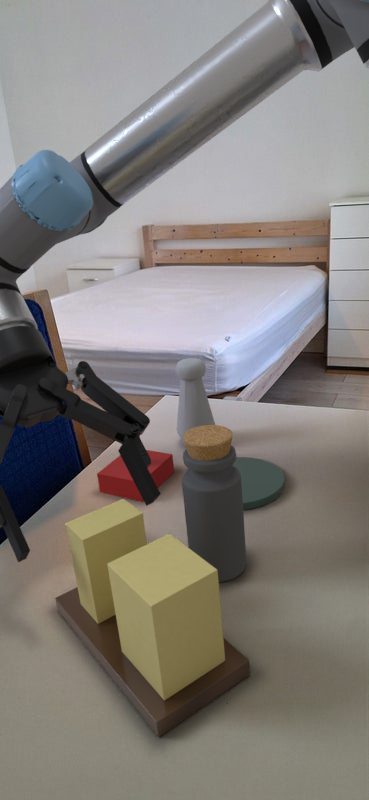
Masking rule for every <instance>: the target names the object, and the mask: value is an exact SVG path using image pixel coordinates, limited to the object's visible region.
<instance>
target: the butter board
mask: <svg viewBox="0 0 369 800" xmlns="http://www.w3.org/2000/svg"><path fill="white" fill-rule="evenodd" d="M54 600H55V605H56V609H57V611H58V613H59V615H61V616H62V618H63V619H64V620H65V622H66V623H67V625H69V626H70V628H71V629H72V630H73V631H74V633H75V634H76V635H77V636H78V638H79V639H80V640H81V642H82V643H83V644H84V645H85V646H86V648H87V649H88V650H89V652H90V653H91V654H92V656H93V657H94V658H95V659H96V660H97V662H98V663H99V664H100V665H101V667H102V668H103V669H104V671H105V672H106V673H107V674H108V675H109V677H110V678H111V680H112V681H113V682H114V683H115V684H116V686H117V687H118V688H119V689H120V691H121V692H122V693H123V694H124V696H125V697H126V698H127V699H128V701H129V702H130V703H131V704H132V706H133V707H134V709H136V711H137V712H138V713H139V715H140V716H141V717H142V718H143V719H144V721H145V722H146V723H147V724H148V726H149V727H150V729H151V730H152V731H153V732H154V734H155V735H156V736H157V738H160V737H161V736H163V735H165V734H166V733H167V732H169V731H170V730H171V729H173V728H175V727H176V726H177V725H178V724H180V723H182V722H183V721H185V720H186V719H187V718H189V717H190V716H192V715H193V714H195V713H196V712H197V711H199V710H201V709H202V708H203V707H205V706H206V705H208V704H209V703H210V702H212V701H213V700H215V699H216V698H218V697H219V696H221V695H222V694H224V693H226V691H228V690H230V689H231V688H233V687H234V686H235V685H237V684H238V683H240V682H241V681H243V680H244V679H245V678H247V677H248V676H250V675H251V668H250V659H249V658H247V657H246V655H244V654H243V653H242V652H241V651H240V650H238V649H237V648H236V647H235V646H234V645H232V644H231V643H230V642H229V641H228V640H227V639H226V638H225V637H223V640H224V652H225V661H224V662H223V663H221V664H220V665H218V666H217V667H215V668H213V669H212V670H210V671H209V672H207V673H206V674H204V675H203V676H201V677H200V678H198V679H197V680H195V681H194V682H192V683H191V684H189V685H188V686H186V687H185V688H183V689H181V690H180V691H178V692H177V693H175V694H174V695H172V696H171V697H169V698H168V699H166V700H163V698H162V697H161V696H160V695H159V694H158V693H157V692H156V690H155V689H154V688H153V687H152V686H151V685H150V683H149V682H148V681H147V680H146V679H145V678H144V676H143V675H142V674H141V673H140V672H139V671H138V670H137V668H136V667H135V666H134V665H133V664H132V663H131V661H130V660H129V659H128V658H127V657H126V656H125V655H124V653H123V652H122V649H121V643H120V637H119V631H118V625H117V619H116V615H114V616H112V617H110V618H108V619H107V620H105V621H103V622H101V623H99V624H98V623H97V622H96V621H95V620H94V619H93V618H92V616H91V615H90V614H89V613H88V612H87V611H86V610H85V608H84V607H83V606H82V605H81V602H80V597H79V592H78V587H77V586H76V587H74V588H72V589H70V590H68V591H66V592H64V593H62V594H60V595H58V596H56V597H54Z"/></svg>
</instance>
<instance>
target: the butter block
mask: <svg viewBox="0 0 369 800" xmlns="http://www.w3.org/2000/svg"><path fill="white" fill-rule="evenodd" d="M107 565H108V571H109V577H110V583H111V589H112V595H113V601H114V607H115V613H116V619H117V625H118V631H119V637H120V643H121V649H122V652H123V653H124V655H125V656H126V657H127V658H128V659H129V660H130V661H131V663H132V664H133V665H134V666H135V667H136V668H137V670H138V671H139V672H140V673H141V674H142V675H143V676H144V678H145V679H146V680H147V681H148V682H149V683H150V685H151V686H152V687H153V688H154V689H155V690H156V692H157V693H158V694H159V695H160V696H161V697H162V698H163V700H166V699H168V698H169V697H171V696H172V695H174V694H175V693H177V692H178V691H180V690H181V689H183V688H185V687H186V686H188V685H189V684H191V683H192V682H194V681H195V680H197V679H198V678H200V677H201V676H203V675H204V674H206V673H207V672H209V671H210V670H212V669H213V668H215V667H217V666H218V665H220V664H221V663H223V662H224V661H225V652H224V640H223V638H224V630H223V629H224V628H223V617H222V607H221V594H220V582H218V570H217V569H216V568H214V567H213V566H212V565H210V564H209V563H208V562H206V561H205V560H204V559H202V558H201V557H200V556H199V555H197V554H196V553H195V552H193V551H192V550H191V549H189V547H188V545H185V544H184V543H183V542H181V541H180V540H179V539H178V538H176V537H175V536H173V535H172V534H171V533H167V534H165V535H163V536H161V537H159V538H157V539H155V540H153V541H151V542H149V543H147V545H145V546H143V547H141V548H139V549H137V550H134V551H132V552H130V553H128V554H126V555H124V556H122V557H120V558H118V559H116V560H114V561H112V562H110V563H108V564H107Z"/></svg>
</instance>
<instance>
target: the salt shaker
mask: <svg viewBox="0 0 369 800" xmlns="http://www.w3.org/2000/svg"><path fill="white" fill-rule="evenodd" d="M206 371H207V368H206V363H205V361H204V360H202V359H201V358H198V357H188V358H184V359H180V360H179V361H178V362H177V363H176V365H175V375H176V377H177V378H178V379H180V381H179V393H178V408H177V420H176V433H177V434H178V436H179V438H180V440H181V442H182V444H183V445H185V443H184V440H183V436H184V434H185V433H186V432H187V431H188V430H190V429H192V428H195V427H198V426H203V425H216V421H215V419H214V414H213V412H212V408H211V404H210V402H209V398H208V394H207V391H206V388H205V385H204V382H203V379H202V378H203V377H204V376H205V375H206Z"/></svg>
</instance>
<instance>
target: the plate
mask: <svg viewBox="0 0 369 800" xmlns="http://www.w3.org/2000/svg"><path fill="white" fill-rule="evenodd" d="M233 466H235V467H236V468H237V469H238V470H239V472H240V474H241V484H242V498H243V511H245V510H253V509H257V508H260V507H263V506H265V505H268V504H270V503H272V502H274V501H275V500H276V499H278V498H279V497H280V496H281V495H282V493H283V492H284V489H285V485H286V484H285V474H284V473H283V471H282V469H280V468H279V466H277V465H276V464H274V463H272V462H270V461H268V460H265V459H261V458H258V457H249V456H236V461H235V462H234V464H233Z"/></svg>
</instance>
